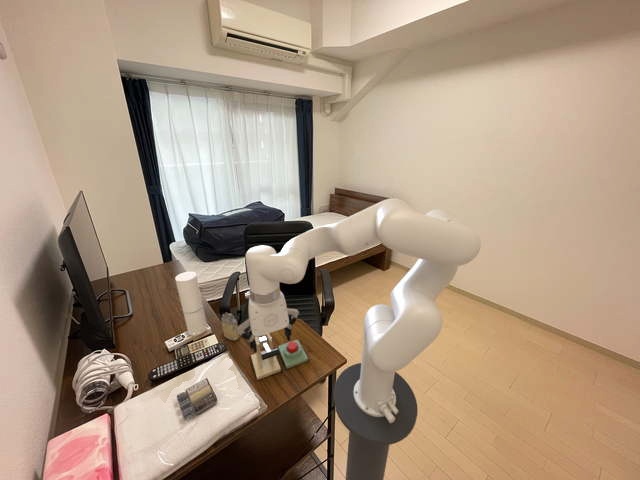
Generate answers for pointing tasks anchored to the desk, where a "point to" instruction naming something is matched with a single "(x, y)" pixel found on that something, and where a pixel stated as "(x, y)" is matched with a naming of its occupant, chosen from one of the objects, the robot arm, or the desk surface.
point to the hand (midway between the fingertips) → (271, 343)
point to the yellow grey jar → (229, 327)
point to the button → (292, 347)
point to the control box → (292, 355)
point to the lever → (267, 349)
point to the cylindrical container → (191, 302)
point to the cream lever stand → (264, 361)
